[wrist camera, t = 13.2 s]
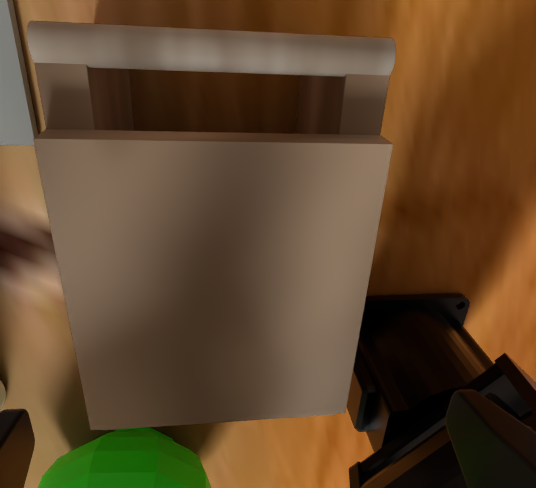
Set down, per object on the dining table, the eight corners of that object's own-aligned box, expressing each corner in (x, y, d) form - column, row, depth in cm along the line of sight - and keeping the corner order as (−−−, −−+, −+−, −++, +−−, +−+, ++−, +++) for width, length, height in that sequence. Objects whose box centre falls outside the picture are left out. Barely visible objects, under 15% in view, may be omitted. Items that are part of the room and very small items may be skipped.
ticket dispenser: (334, 30, 17) (411, 40, 11) (304, 318, 23) (341, 435, 17) (89, 18, 16) (9, 21, 9) (127, 325, 22) (95, 453, 16)
